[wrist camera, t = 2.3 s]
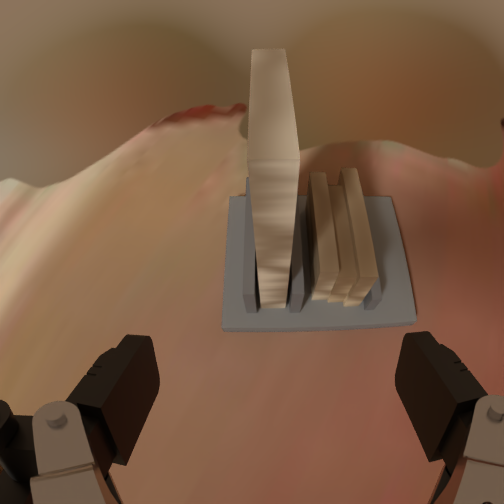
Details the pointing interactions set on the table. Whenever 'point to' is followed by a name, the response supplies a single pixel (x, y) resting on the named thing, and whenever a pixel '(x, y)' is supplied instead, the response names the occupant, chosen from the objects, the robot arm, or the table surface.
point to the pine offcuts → (339, 239)
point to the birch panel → (272, 172)
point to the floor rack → (299, 285)
